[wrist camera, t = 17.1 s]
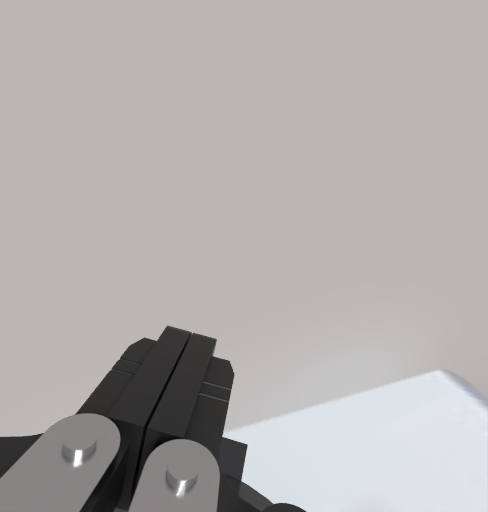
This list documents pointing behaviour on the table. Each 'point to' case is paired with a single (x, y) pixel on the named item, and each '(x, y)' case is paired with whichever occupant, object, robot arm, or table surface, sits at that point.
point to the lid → (235, 474)
